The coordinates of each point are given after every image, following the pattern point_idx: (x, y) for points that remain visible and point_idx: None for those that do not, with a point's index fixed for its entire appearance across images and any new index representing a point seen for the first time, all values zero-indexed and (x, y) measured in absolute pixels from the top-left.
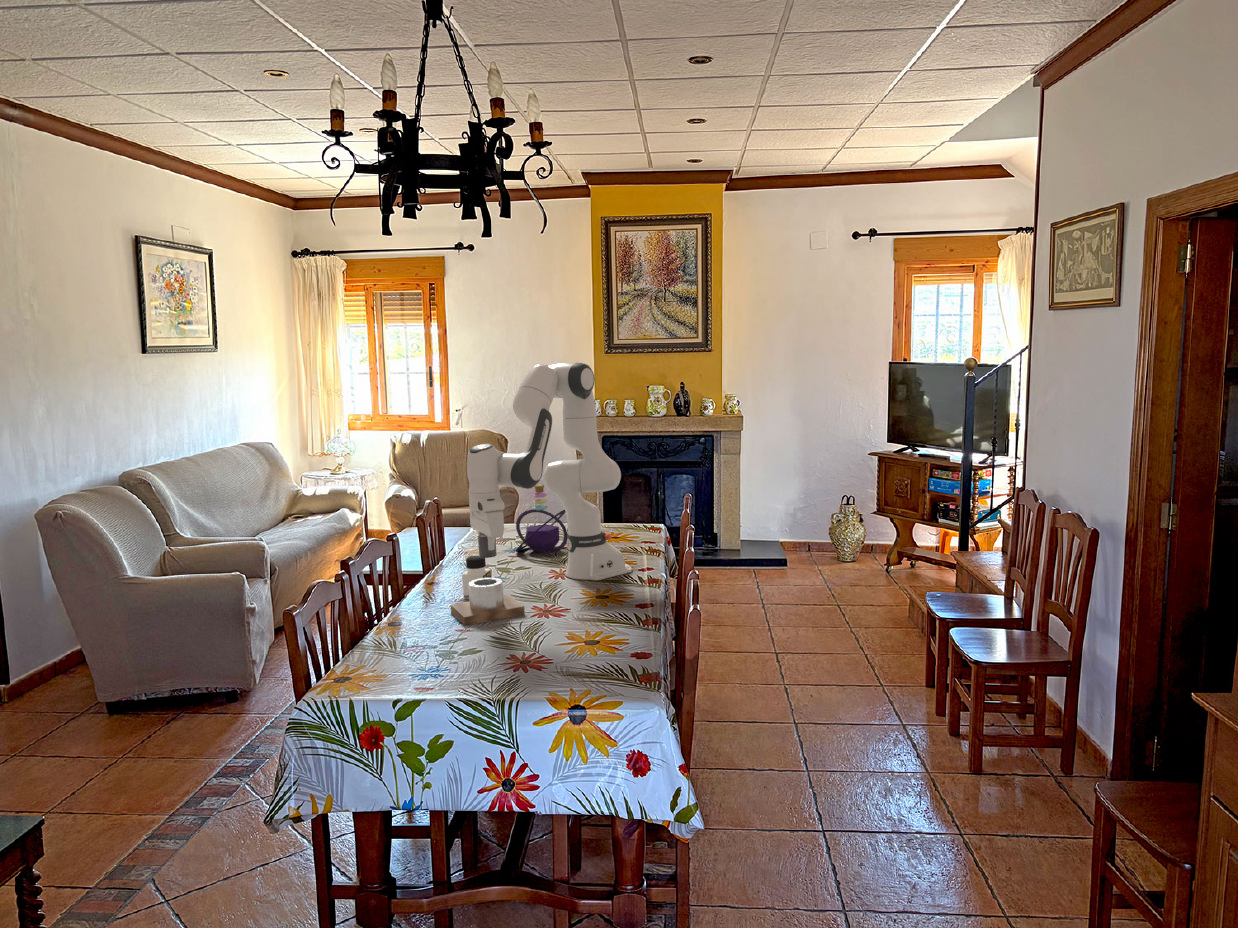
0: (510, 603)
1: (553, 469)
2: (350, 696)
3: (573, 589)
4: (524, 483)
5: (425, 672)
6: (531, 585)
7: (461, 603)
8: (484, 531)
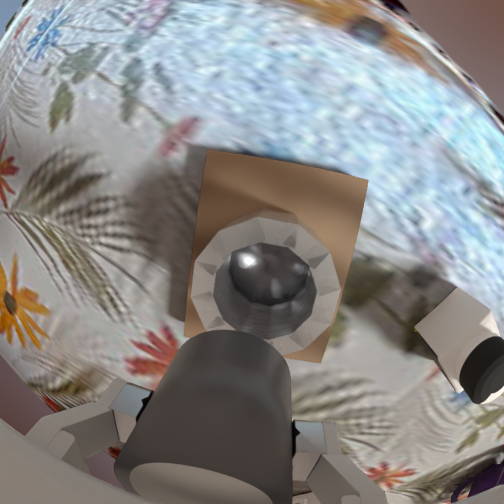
0: None
1: None
2: None
3: None
4: None
5: (52, 26)
6: (380, 431)
7: (351, 212)
8: (20, 468)
